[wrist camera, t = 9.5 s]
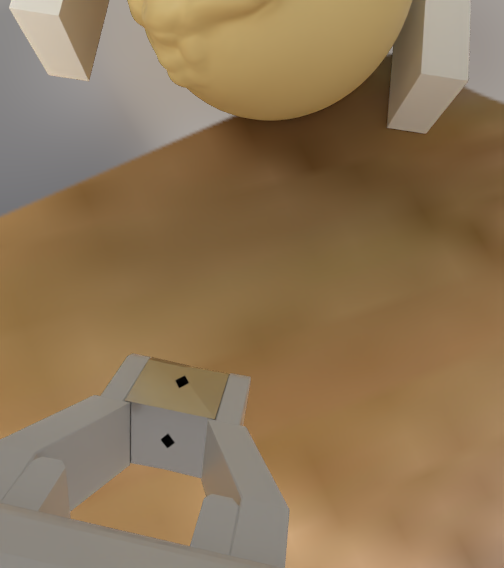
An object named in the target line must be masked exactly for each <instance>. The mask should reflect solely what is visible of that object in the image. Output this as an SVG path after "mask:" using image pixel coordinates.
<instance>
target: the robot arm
mask: <svg viewBox="0 0 504 568" xmlns="http://www.w3.org/2000/svg"><path fill="white" fill-rule="evenodd" d="M250 382H251V378H250V377H249V376H244V375H238V374H232V373H231V374H229V373H224V372H219V371H214V370H209V369H203V368H198V367H193V366H189V365H185V364H180V363H176V362H171V361H167V360H162V359H158V358H153V357H152V358H151V357H148V356H143V355H138V354H134V353H132V354H130V355H128V356H127V357H126V359H125V360H124V362H123V363H122V365H121V366H120V368H119V369H118V371H117V372H116V374H115V375H114V377H113V378H112V379H111V381H110V382H109V384H108V385H107V387H106V388H105V390H104V391H103V393H102V394H101V396H96V395H93V396H91V397H89V398H87V399H85V400H83V401H81V402H78V403H76V404H74V405H72V406H70V407H68V408H66V409H64V410H62V411H59V412H57V413H55V414H53V415H51V416H49V417H47V418H45V419H43V420H41V421H38V422H36V423H34V424H32V425H30V426H28V427H26V428H24V429H22V430H19V431H17V432H15V433H13V434H11V435H9V436H7V437H5V438H3V439H1V440H0V568H285V560H286V547H287V535H288V522H289V508H288V506H287V504H286V502H285V500H284V498H283V496H282V494H281V492H280V491H279V489H278V487H277V485H276V483H275V481H274V479H273V477H272V475H271V473H270V472H269V470H268V468H267V466H266V464H265V462H264V460H263V458H262V456H261V454H260V453H259V451H258V449H257V447H256V445H255V443H254V441H253V439H252V437H251V435H250V433H249V432H248V430H247V428H246V427H245V426H243V424H244V418H245V412H246V406H247V400H248V395H249V389H250ZM130 463H134V464H139V465H145V466H150V467H155V468H161V469H166V470H170V471H174V472H178V473H182V474H186V475H190V476H194V477H198V478H202V479H201V481H202V484H203V487H204V491H205V494H206V497H205V498H204V500H203V504H202V507H201V511H200V514H199V517H198V521H197V524H196V527H195V531H194V534H193V538H192V541H191V544H190V546H186V545H182V544H178V543H173V542H169V541H165V540H160V539H156V538H152V537H147V536H143V535H139V534H134V533H130V532H126V531H122V530H117V529H113V528H109V527H104V526H100V525H96V524H91V523H87V522H83V521H78V520H74V519H70V511H72V510H73V509H74V508H75V507H77V506H78V505H79V504H80V503H82V502H83V501H84V500H86V499H87V498H88V497H89V496H91V495H92V494H93V493H95V492H96V491H97V490H98V489H100V488H101V487H102V486H103V485H105V484H106V483H107V482H109V481H110V480H111V479H112V478H114V477H115V476H116V475H118V474H119V473H120V472H121V471H123V470H124V469H125V468H126V467H128V466H129V465H130Z"/></svg>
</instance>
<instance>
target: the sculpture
mask: <svg viewBox="0 0 504 568" xmlns="http://www.w3.org/2000/svg"><path fill="white" fill-rule="evenodd" d="M127 1H128V4H129V8H130V12H131V14H132V17H133V18H134V20H135V21H136V22H137V23H139V24H140V25H142V26H143V27H144V28H145V31H146V34H147V37H148V39H149V41H150V43H151V45H152V47H153V49H154V51H155V53H156V55H157V57H158V60H159V62H160V64H161V65H162V66H163V67H164V68H165V69H167V72H168V75H169V77H170V79H171V80H172V81H173V82H174V83H175V84H177V85H179V86H181V87H186V88H187V89H189V90H190V91H191V92H192V93H193V94H194V95H196V96H197V97H198V98H200V99H201V100H203V101H204V102H206V103H207V104H209V105H211V106H213V107H215V108H217V109H219V110H221V111H224V112H227V113H229V114H232V115H236V116H239V117H243V118H248V119H255V120H268V121H273V120H286V119H292V118H297V117H301V116H305V115H308V114H311V113H314V112H317V111H319V110H322V109H324V108H326V107H328V106H330V105H332V104H334V103H336V102H337V101H339V100H341V99H342V98H344V97H345V96H347V95H348V94H350V93H351V92H352V91H354V90H355V89H356V88H357V87H358V86H360V85H361V84H362V83H363V82H364V81H365V80H366V79H367V78H368V77H369V76H370V75H371V74H372V73H373V72H374V71H375V70H376V68H377V67H378V66H379V65H380V63H381V62H382V61H383V60H384V58H385V57H386V55H387V54H388V52H389V51H390V49H391V48H392V46H393V44H394V43H395V41H396V39H397V37H398V35H399V33H400V31H401V29H402V27H403V25H404V22H405V20H406V17H407V15H408V12H409V9H410V6H411V3H412V0H127Z"/></svg>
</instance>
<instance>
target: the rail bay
mask: <svg viewBox="0 0 504 568" xmlns="http://www.w3.org/2000/svg"><path fill="white" fill-rule="evenodd" d="M108 3H109V0H11V4H10V7H9V9H10V10H11V12H12V14H13V15H14V17H15V19H16V20H17V22H18V24H19V26H20V27H21V29H22V31H23V32H24V34H25V36H26V38H27V39H28V41H29V43H30V44H31V46H32V48H33V49H34V51H35V53H36V55H37V56H38V58H39V60H40V61H41V63H42V65H43V66H44V68H45V70H46V71H47V73H48V75H52V76H58V77H64V78H71V79H77V80H84V81H89V79H90V75H91V71H92V67H93V63H94V59H95V55H96V51H97V47H98V43H99V39H100V35H101V31H102V27H103V23H104V19H105V16H106V12H107V8H108ZM470 16H471V0H412V3H411V6H410V9H409V12H408V15H407V17H406V20H405V22H404V25H403V27H402V29H401V31H400V33H399V35H398V37H397V39H396V41H395V43H394V44H393V55H392V68H391V81H390V93H389V106H388V119H387V128H392V129H398V130H405V131H411V132H417V133H424V134H426V133H427V132H428V131H429V129H430V128H431V127H432V126H433V124H434V123H435V122H436V121H437V119H438V118H439V117H440V116H441V114H442V113H443V112H444V111H445V109H446V108H447V107H448V106H449V104H450V103H451V102H452V101H453V99H454V98H455V97H456V96H457V95H458V93H459V92H460V91H461V90H462V88H463V87H464V86H465V85H466V83H467V82H468V77H469V46H470Z"/></svg>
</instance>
